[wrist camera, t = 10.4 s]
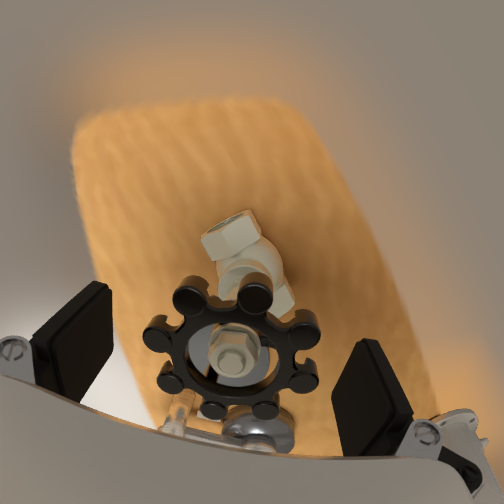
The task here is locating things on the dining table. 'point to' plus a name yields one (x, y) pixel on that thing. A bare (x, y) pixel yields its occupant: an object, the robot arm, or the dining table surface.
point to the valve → (237, 325)
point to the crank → (231, 440)
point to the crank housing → (234, 422)
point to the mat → (199, 359)
